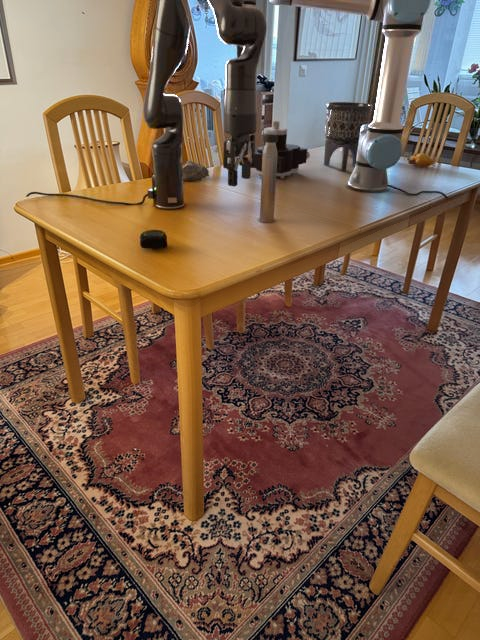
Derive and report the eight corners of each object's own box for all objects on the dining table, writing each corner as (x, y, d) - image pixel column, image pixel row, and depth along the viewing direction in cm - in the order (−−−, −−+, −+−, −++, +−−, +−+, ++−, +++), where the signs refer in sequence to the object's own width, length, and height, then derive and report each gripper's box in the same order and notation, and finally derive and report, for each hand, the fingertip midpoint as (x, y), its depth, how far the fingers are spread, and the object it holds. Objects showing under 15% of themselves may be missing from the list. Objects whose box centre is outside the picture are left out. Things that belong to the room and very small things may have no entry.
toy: (409, 160, 208) (403, 153, 221) (411, 174, 211) (405, 166, 224) (434, 152, 205) (427, 146, 218) (436, 166, 208) (429, 159, 221)
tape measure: (140, 252, 115) (139, 238, 113) (141, 242, 120) (140, 229, 119) (167, 251, 116) (166, 237, 114) (167, 241, 121) (166, 228, 120)
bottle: (257, 220, 139) (260, 135, 127) (264, 217, 142) (268, 133, 130) (269, 223, 137) (273, 136, 125) (276, 219, 140) (281, 135, 128)
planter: (313, 167, 208) (319, 103, 195) (331, 160, 222) (338, 101, 209) (353, 173, 199) (362, 107, 185) (369, 166, 213) (379, 104, 199)
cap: (260, 141, 128) (260, 133, 127) (268, 139, 131) (268, 132, 130) (273, 143, 126) (273, 135, 125) (280, 141, 129) (281, 133, 128)
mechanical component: (240, 120, 182) (283, 115, 202) (239, 174, 192) (280, 164, 212) (283, 126, 170) (325, 120, 190) (280, 183, 180) (320, 171, 200)
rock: (201, 174, 190) (201, 158, 187) (214, 178, 185) (214, 162, 181) (174, 179, 183) (173, 162, 179) (187, 183, 177) (186, 166, 174)
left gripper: (237, 107, 112) (236, 174, 120) (212, 112, 100) (213, 186, 109) (266, 109, 109) (263, 177, 118) (243, 114, 98) (242, 190, 106)
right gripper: (234, 24, 153) (234, 94, 164) (227, 18, 132) (227, 99, 142) (257, 24, 153) (254, 94, 164) (253, 19, 131) (251, 100, 142)
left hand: (239, 182), depth 113 cm, fingers open, 8 cm apart
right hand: (242, 97), depth 153 cm, fingers open, 13 cm apart
